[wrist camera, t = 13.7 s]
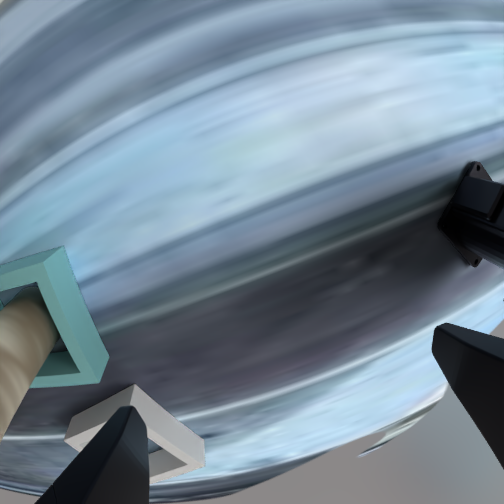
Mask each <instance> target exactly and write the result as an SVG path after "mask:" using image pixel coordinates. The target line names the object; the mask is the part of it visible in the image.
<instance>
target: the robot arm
mask: <svg viewBox="0 0 504 504" xmlns="http://www.w3.org/2000/svg"><path fill="white" fill-rule="evenodd" d="M476 166H477V169H476ZM444 223H445V226H444V227H443V225H444ZM438 228H439V230H440V231H441V232H442V233H443V234H444V235H445V237H446V238H447V239H448V240H449V241H450V242H451V243H452V244H453V245H454V247H455V248H456V249H457V250H458V251H459V252H460V253H461V255H462V256H463V257H464V258H465V259H466V260H467V262H468V263H469V264H470V265H471V266H473V267H477V266H478V265H479V263H480V262H481V260H482V258H484V259H486V260H487V261H489V262H491V263H493V264H495V265H497V266H499V267H500V268H502V269H504V184H502V183H498V182H494V181H492V179H491V178H490V176H489V175H488V173H487V172H486V170H485V169H484V167H483V166H482V164H481V163H480V162H477V161H474V162H472V164H471V166H470V168H469V169H468V171H467V173H466V175H465V177H464V179H463V181H462V182H461V184H460V186H459V188H458V190H457V191H456V193H455V195H454V197H453V198H452V200H451V202H450V203H449V205H448V207H447V209H446V210H445V212H444V214H443V215H442V217H441V218H440V220H439V222H438ZM503 301H504V300H503ZM432 353H433V356H434V358H435V359H436V361H437V363H438V365H439V366H440V368H441V370H442V372H443V374H444V375H445V377H446V379H447V381H448V383H449V385H450V386H451V388H452V390H453V391H454V393H455V394H456V396H457V397H458V399H459V400H460V402H461V403H462V404H463V406H464V408H465V409H466V411H467V412H468V414H469V415H470V416H471V418H472V420H473V421H474V422H475V424H476V426H477V427H478V429H479V430H480V432H481V433H482V435H483V437H484V438H485V440H486V441H487V443H488V444H489V446H490V447H491V449H492V451H493V452H494V454H495V456H496V457H497V459H498V461H499V462H500V464H501V466H502V467H503V469H504V339H502V338H499V337H495V336H492V335H488V334H485V333H481V332H478V331H474V330H471V329H467V328H464V327H460V326H457V325H453V324H450V323H444V324H441V325H439V326H437V327H436V328H435V330H434V335H433V342H432ZM149 484H150V470H149V455H148V438H147V427H146V424H145V422H144V421H143V419H142V417H141V416H140V414H139V413H138V411H137V409H136V408H135V407H134V406H132V405H130V406H121V407H119V408H118V409H117V411H116V412H115V413H114V414H113V415H112V416H111V417H110V419H109V420H108V421H107V422H106V423H105V424H104V425H103V427H102V428H101V429H100V430H99V431H98V432H97V433H96V435H95V436H94V437H93V438H92V439H91V440H90V441H89V443H88V444H87V445H86V446H85V447H84V448H83V449H82V451H81V452H80V453H79V454H78V455H77V456H76V457H75V459H74V460H73V461H72V462H71V463H70V464H69V465H68V467H67V468H66V469H65V470H64V471H63V472H62V473H61V475H60V476H59V477H58V478H57V479H56V480H55V481H54V483H53V485H51V486H50V487H49V488H48V489H47V490H46V492H45V493H44V494H43V495H42V496H41V497H40V498H39V499H38V500H37V501H36V502H35V504H149Z"/></svg>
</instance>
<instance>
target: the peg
mask: <svg viewBox="0 0 504 504" xmlns="http://www.w3.org/2000/svg"><path fill="white" fill-rule="evenodd" d="M60 336H61V335H60V333H59V331H58V329H57V327H56V325H55V323H54V321H53V319H52V317H51V314H50V312H49V310H48V308H47V305H46V303H45V301H44V299H43V296H42V294H41V291H40V289H39V288H38V287H27V288H24V289H23V290H22V291H21V292H19V293H18V294H17V295H16V296H15V297H14V298H13V299H12V300H11V301H10V302H9V303H8V304H7V305H6V306H5V307H4V308H3V309H2V310H1V311H0V442H1V440H2V438H3V436H4V434H5V432H6V430H7V428H8V426H9V424H10V422H11V420H12V418H13V416H14V414H15V413H16V411H17V409H18V407H19V405H20V403H21V401H22V400H23V398H24V396H25V394H26V392H27V391H28V389H29V387H30V385H31V384H32V382H33V380H34V378H35V377H36V375H37V373H38V372H39V370H40V368H41V367H42V365H43V363H44V362H45V360H46V358H47V357H48V355H49V354H50V352H51V350H52V349H53V347H54V346H55V344H56V342H57V341H58V339H59V338H60Z"/></svg>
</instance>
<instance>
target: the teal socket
mask: <svg viewBox="0 0 504 504" xmlns="http://www.w3.org/2000/svg"><path fill="white" fill-rule="evenodd" d="M34 282H37V284H38V287H39V289H40V291H41V294H42V296H43V299H44V301H45V303H46V305H47V308H48V310H49V312H50V314H51V317H52V319H53V321H54V323H55V325H56V327H57V329H58V331H59V333H60V335H61V337H62V339H63V341H64V343H65V345H66V347H67V349H68V351H63V352H56V353H50V354H49V355H48V357H47V358H46V360H45V362H44V363H43V365H42V367H41V368H40V370H39V372H38V373H37V375H36V377H35V378H34V380H33V382H32V384H31V385H30V387H29V388H42V387H59V386H73V385H84V384H95V383H100V380H101V378H102V375H103V372H104V370H105V367H106V364H107V362H108V359H109V355H108V353H107V350H106V348H105V346H104V344H103V342H102V340H101V338H100V336H99V334H98V332H97V329H96V327H95V325H94V323H93V321H92V318H91V316H90V314H89V311H88V309H87V307H86V304H85V302H84V299H83V297H82V295H81V292H80V290H79V287H78V284H77V282H76V279H75V277H74V274H73V271H72V269H71V266H70V263H69V260H68V257H67V254H66V252H65V249H64V246H61V247H58V248H54V249H51V250H48V251H44V252H41V253H38V254H35V255H31V256H28V257H25V258H22V259H19V260H16V261H12V262H9V263H6V264H3V265H0V291H4V290H8V289H11V288H15V287H19V286H23V285H27V284H30V283H34ZM3 308H4V306H3V304H2V302H1V300H0V311H1V310H2V309H3Z"/></svg>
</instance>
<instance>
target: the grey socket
mask: <svg viewBox="0 0 504 504" xmlns="http://www.w3.org/2000/svg"><path fill="white" fill-rule="evenodd" d="M130 405H132V406H134V407H135V408H136V409H137V411H138V413H139V414H140V416H141V417H142V419H143V421H144V422H145V424H146V427H147V437H148V438H149V439H151V440H152V441H154V442H155V443H156V444H158V445H159V446H161V447H162V448H164V449H161V450H158V451H156V452H153V453H150V454H148V455H149V470H150V484H152V483H156V482H159V481H162V480H166V479H169V478H172V477H175V476H178V475H181V474H184V473H187V472H190V471H193V470H196V469H199V468H201V467H204V466H205V449H204V440H203V439H202V438H201V437H199V436H198V435H197V434H195V433H194V432H193V431H191V430H190V429H189V428H187V427H186V426H185V425H183V424H182V423H181V422H180V421H178V420H177V419H176V418H175V417H173V416H172V415H171V414H170V413H168V412H167V411H166V410H165V409H163V408H162V407H161V406H160V405H159V404H157V403H156V402H155V401H154V400H153V399H152V398H150V397H149V396H148V395H147V394H146V393H145V392H144V391H142V390H141V389H140V388H139V387H138V386H137V385H136V384H133V385H131V386H130V387H128V388H126V389H124V390H122V391H120V392H119V393H117V394H115V395H113V396H111V397H109V398H107V399H105V400H104V401H102V402H100V403H98V404H96V405H94V406H92V407H90V408H88V409H86V410H84V411H83V412H81V413H79V414H77V415H75V416H73V417H72V419H71V421H70V424H69V427H68V429H67V432H66V435H65V438H64V441H65V442H66V443H68V444H69V445H70V446H72V447H73V448H74V449H76V450H77V451H78V452H81V451H82V449H83V448H84V447H85V446H86V445H87V444H88V443H89V441H90V440H91V439H92V438H93V437H94V436H95V435H96V433H97V432H98V431H99V430H100V429H101V428H102V427H103V425H104V424H105V423H106V422H107V421H108V420H109V419H110V417H111V416H112V415H113V414H114V413H115V412H116V411H117V409H118V408H119V407H121V406H130Z"/></svg>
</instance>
